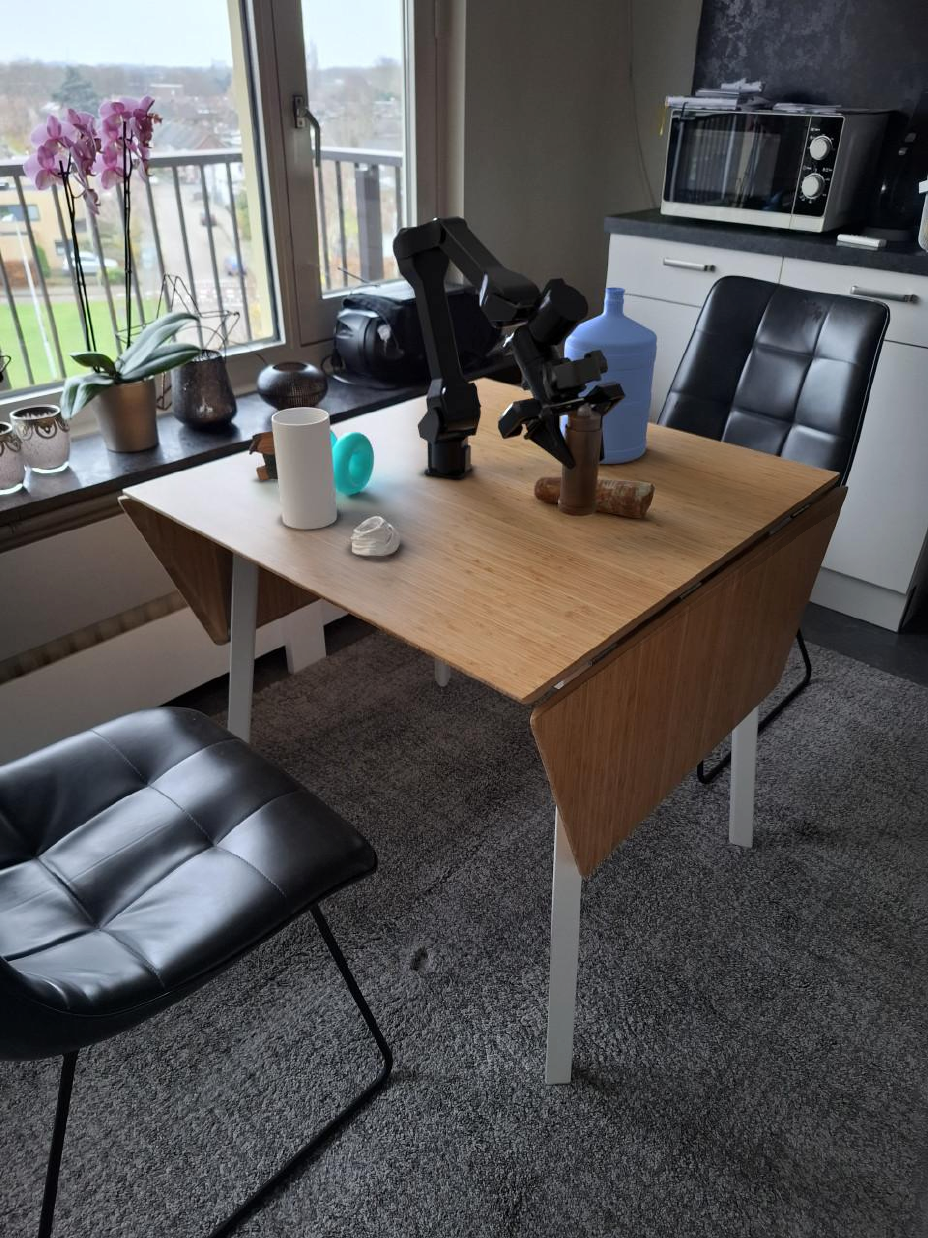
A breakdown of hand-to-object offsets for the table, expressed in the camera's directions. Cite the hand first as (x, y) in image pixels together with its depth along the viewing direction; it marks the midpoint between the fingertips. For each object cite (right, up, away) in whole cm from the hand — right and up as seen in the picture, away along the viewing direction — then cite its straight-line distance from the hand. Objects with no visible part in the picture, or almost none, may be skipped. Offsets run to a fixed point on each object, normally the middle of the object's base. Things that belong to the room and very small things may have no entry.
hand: (587, 464), depth 120 cm
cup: (-40, -6, +15) cm, 43 cm away
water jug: (+8, +9, +40) cm, 42 cm away
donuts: (-38, 0, +25) cm, 45 cm away
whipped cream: (-30, -11, +5) cm, 32 cm away
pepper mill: (-1, -5, +5) cm, 7 cm away
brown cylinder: (+3, -4, +18) cm, 18 cm away
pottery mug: (-48, +4, +31) cm, 57 cm away
